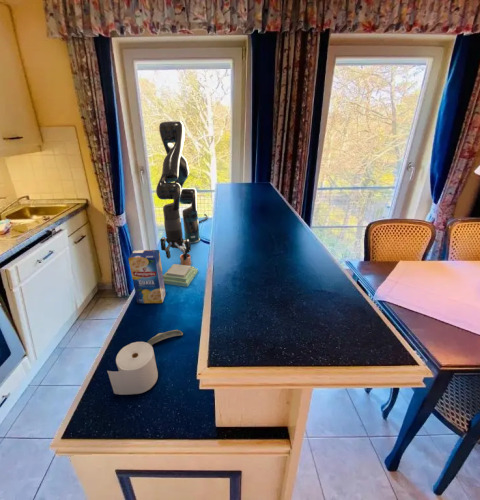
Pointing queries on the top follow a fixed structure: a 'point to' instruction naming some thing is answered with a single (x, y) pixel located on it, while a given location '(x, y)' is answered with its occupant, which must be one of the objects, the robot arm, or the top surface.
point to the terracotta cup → (187, 261)
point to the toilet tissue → (134, 369)
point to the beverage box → (147, 276)
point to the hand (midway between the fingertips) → (177, 258)
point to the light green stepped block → (180, 278)
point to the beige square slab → (178, 270)
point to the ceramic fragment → (164, 336)
